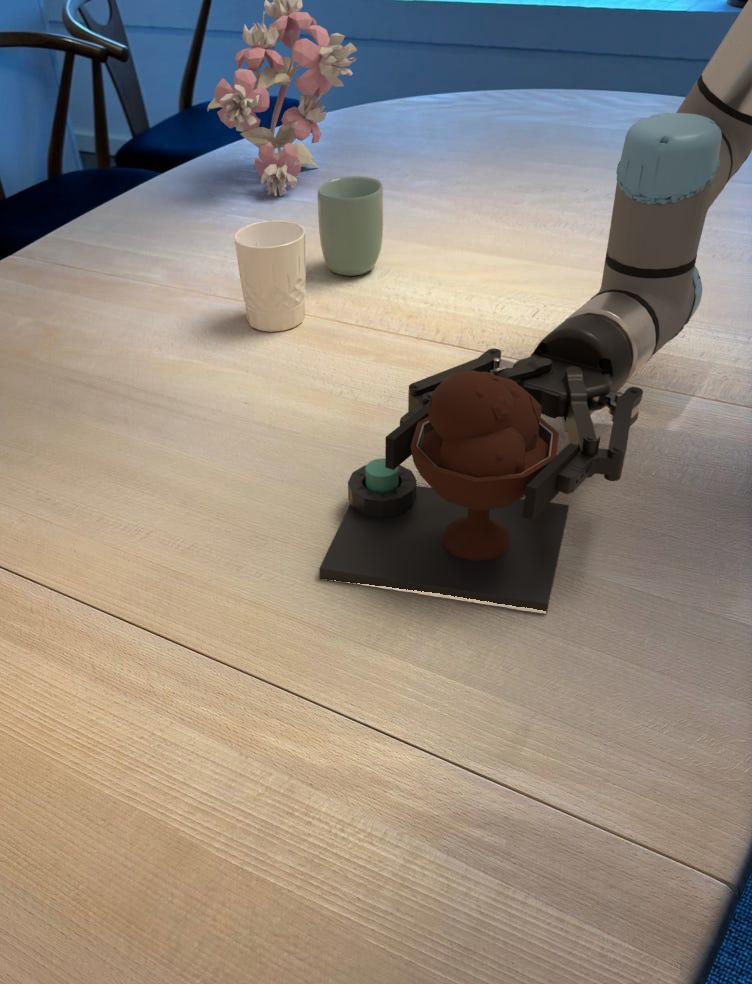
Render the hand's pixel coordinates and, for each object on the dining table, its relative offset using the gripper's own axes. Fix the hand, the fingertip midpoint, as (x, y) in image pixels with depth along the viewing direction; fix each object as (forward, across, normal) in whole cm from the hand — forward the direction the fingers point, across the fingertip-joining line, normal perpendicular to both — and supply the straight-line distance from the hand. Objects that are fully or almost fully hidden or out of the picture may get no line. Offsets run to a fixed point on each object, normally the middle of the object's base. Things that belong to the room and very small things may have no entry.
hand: (456, 477), depth 72 cm
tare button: (-5, +10, -7) cm, 13 cm away
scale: (-3, +2, -10) cm, 10 cm away
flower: (-67, +70, -10) cm, 97 cm away
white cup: (-29, +42, -10) cm, 52 cm away
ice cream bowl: (-4, 0, -8) cm, 9 cm away
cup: (-45, +42, -10) cm, 62 cm away
